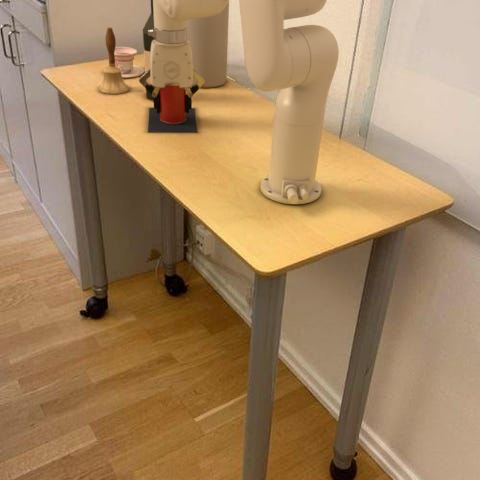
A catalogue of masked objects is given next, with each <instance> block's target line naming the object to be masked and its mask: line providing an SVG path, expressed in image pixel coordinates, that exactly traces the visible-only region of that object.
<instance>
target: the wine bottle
mask: <svg viewBox="0 0 480 480" xmlns="http://www.w3.org/2000/svg"><path fill="white" fill-rule="evenodd" d="M153 28H154V12H153V0H150V15H149V17H148V19H147V20H146V22H145V24H144V26H143V29H142V41H143V61H144V62H143V63H144V73H145V72H146V71H147V70H148V69H149V68H150V53H151V44H152V41H153V40H154V39H155V38H153V37H152V36H148V30H151V29H153ZM146 81H147V82H148V83H149V84H150V85H151V86H152V87H154V86H153V85H152V83H151V76H150V77H149V78H148V79H147V80H146ZM158 94H159V92H158ZM145 96H146V99H147V100H150V101H152V102H154V100H153V96H152V95H151V94H150V93H149V92H148V91H147V90H146V89H145Z"/></svg>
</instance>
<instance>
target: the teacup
mask: <svg viewBox="0 0 480 480" xmlns="http://www.w3.org/2000/svg"><path fill="white" fill-rule="evenodd" d="M137 52H138V50H137V49H136V48H133V47H129V46H115V52H114V56H115V66H116V67H117V68H119V69H120V70H121V75H122V78H123V79H129V78H136V77H139V76H140V77H141V76H142V75H143V74H144V73H145V68H143V67H141V66H139V65H136V64H134V59H135V56H136V54H137ZM107 67H109V65H108V66H106V67H104V69H103V71H104V70H105V69H106V68H107Z"/></svg>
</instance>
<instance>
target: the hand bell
mask: <svg viewBox="0 0 480 480" xmlns="http://www.w3.org/2000/svg"><path fill="white" fill-rule="evenodd" d="M116 42H117V41H116V35H115V33H114V31H113V27H107V28H106V33H105V46H106V50H107V53H108V66H109V67H108V66H106V67H107V68H106V67H105V68H106V69H105V68H104V69H105V70H104V69H103V80H102V83H101V84H100V85H99V87H98V91H99V92H101V93H103V94H108V95H120V94H121V95H122V94H125V93H127V92H129V91H130V88H129V86H128V85H127V84H126V83H125V80H124V78H122V75H121V70H120V69H119V68H117V67H116V66H115V56H114V52H115V47H117V45H116V44H117V43H116Z"/></svg>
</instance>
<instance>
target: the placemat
mask: <svg viewBox="0 0 480 480" xmlns="http://www.w3.org/2000/svg"><path fill="white" fill-rule="evenodd" d="M147 133H176V134H177V133H178V134H179V133H181V134H182V133H183V134H184V133H187V134H188V133H191V134H194V133H196V134H197V133H199V132H198V124H197V115H196V108H195V107H192V109H189V114H187V113H186V122H184V123H182V124H177V125H170V124H165V123H162V122H161V121H160V113H157V109H154V107H148V121H147Z"/></svg>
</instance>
